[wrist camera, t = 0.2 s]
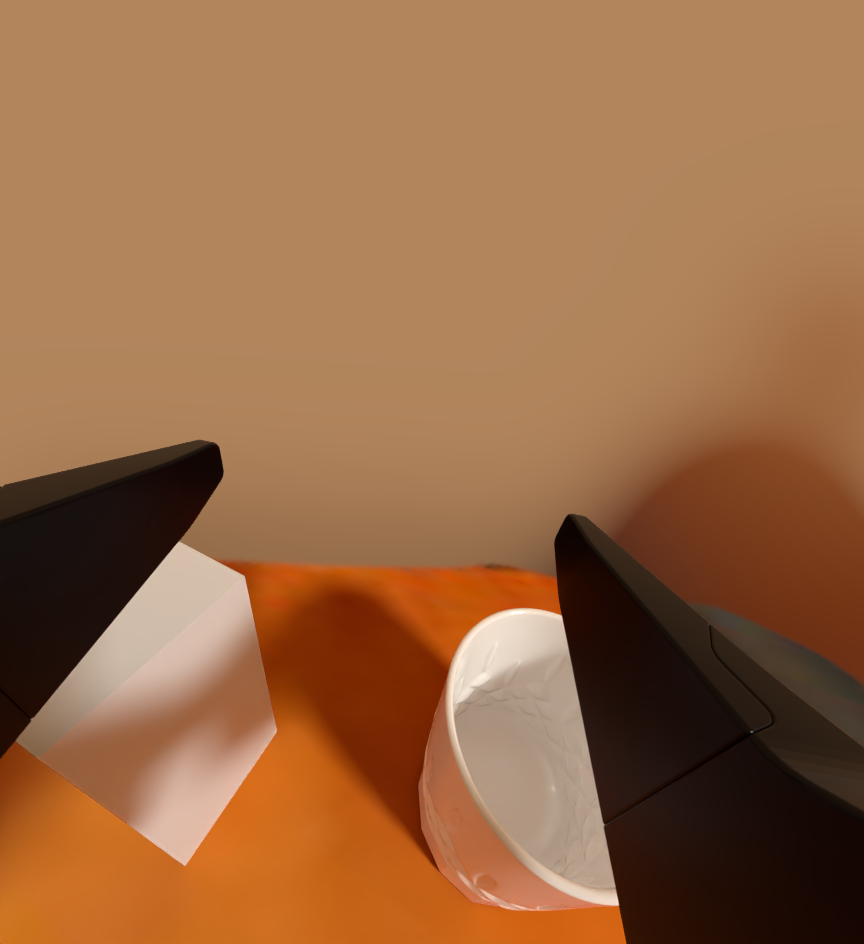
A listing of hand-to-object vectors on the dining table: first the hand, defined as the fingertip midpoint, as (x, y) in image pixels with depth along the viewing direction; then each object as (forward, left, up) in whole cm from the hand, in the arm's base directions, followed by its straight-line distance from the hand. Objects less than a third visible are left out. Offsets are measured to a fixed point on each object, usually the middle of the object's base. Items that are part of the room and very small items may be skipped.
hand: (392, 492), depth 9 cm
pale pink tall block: (-2, +7, -17) cm, 18 cm away
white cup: (-1, -7, -17) cm, 18 cm away
